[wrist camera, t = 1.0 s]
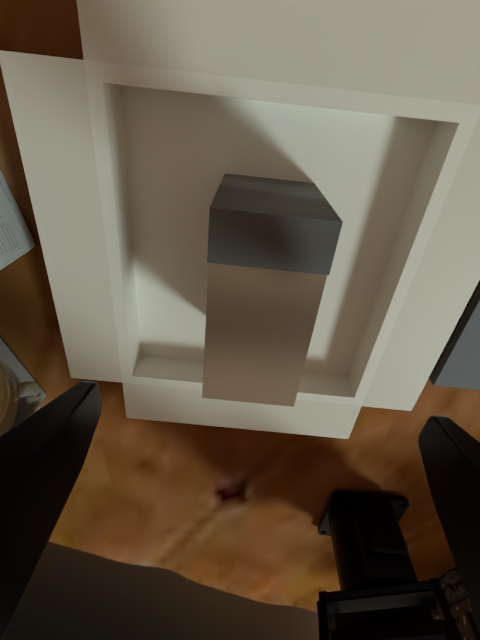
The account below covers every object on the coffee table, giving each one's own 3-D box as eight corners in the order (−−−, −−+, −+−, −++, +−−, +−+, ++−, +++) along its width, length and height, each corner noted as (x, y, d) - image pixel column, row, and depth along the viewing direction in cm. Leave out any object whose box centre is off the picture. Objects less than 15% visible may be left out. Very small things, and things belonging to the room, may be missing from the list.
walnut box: (285, 329, 20) (294, 407, 15) (214, 322, 20) (200, 398, 15) (314, 183, 16) (342, 222, 10) (224, 173, 16) (209, 207, 10)
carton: (382, 414, 24) (394, 443, 22) (94, 386, 24) (79, 413, 22) (565, 19, 13) (623, 3, 11) (16, -47, 12) (-32, -77, 10)
